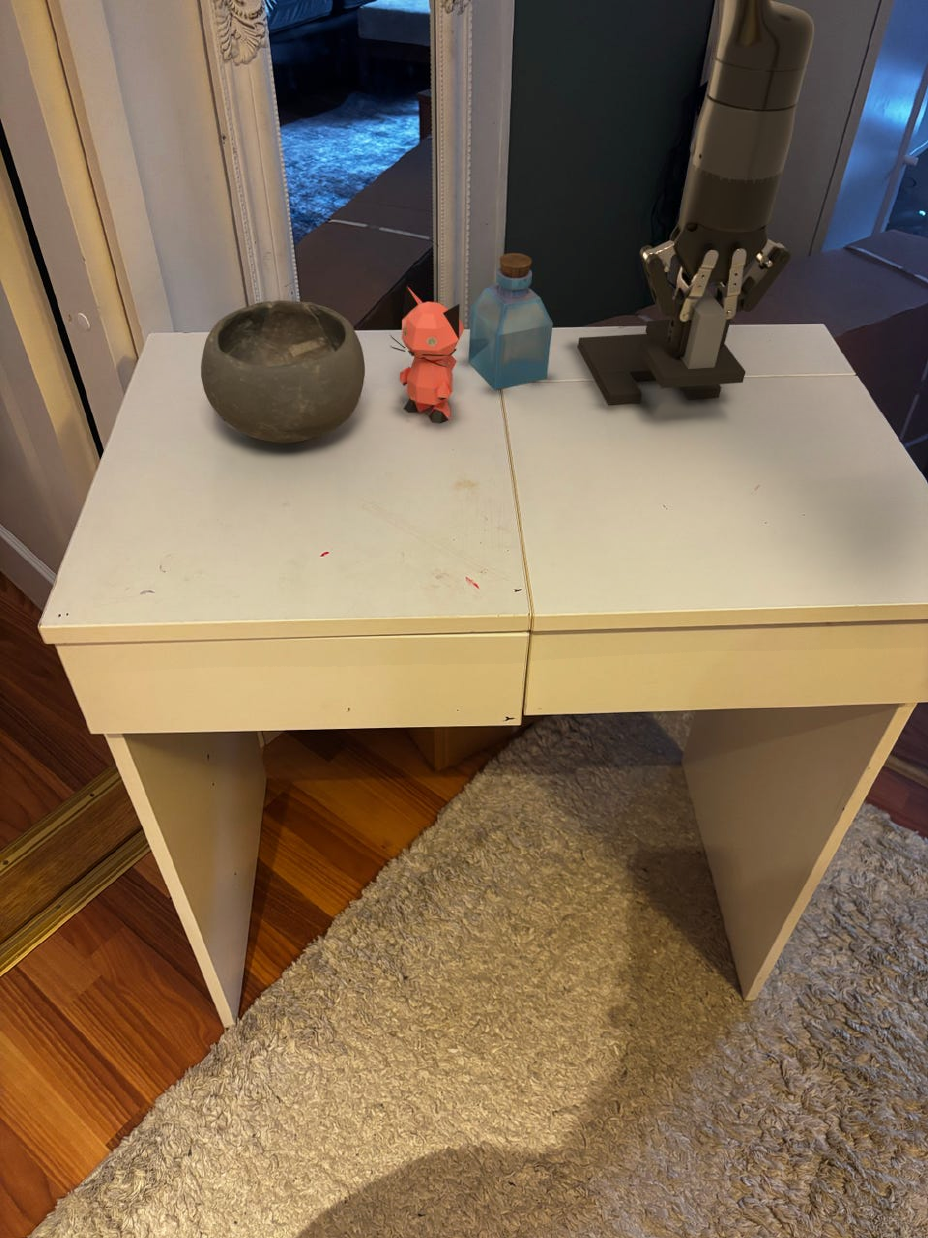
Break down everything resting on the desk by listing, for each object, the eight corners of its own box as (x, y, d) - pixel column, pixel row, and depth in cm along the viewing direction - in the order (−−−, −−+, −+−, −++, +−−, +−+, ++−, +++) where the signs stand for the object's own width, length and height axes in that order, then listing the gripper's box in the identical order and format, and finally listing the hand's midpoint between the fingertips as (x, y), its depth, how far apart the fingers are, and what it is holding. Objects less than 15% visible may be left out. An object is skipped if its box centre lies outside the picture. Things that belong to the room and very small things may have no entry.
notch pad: (679, 340, 105) (681, 331, 104) (719, 397, 97) (721, 387, 96) (577, 347, 103) (578, 337, 103) (608, 405, 95) (610, 395, 94)
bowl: (207, 394, 94) (190, 300, 87) (353, 379, 97) (348, 287, 90) (217, 480, 84) (198, 381, 77) (380, 460, 87) (376, 364, 80)
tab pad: (702, 328, 94) (716, 265, 90) (742, 382, 87) (760, 317, 82) (626, 332, 93) (637, 269, 89) (661, 388, 86) (675, 322, 81)
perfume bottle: (518, 351, 102) (527, 242, 94) (546, 378, 99) (558, 267, 90) (468, 362, 100) (473, 252, 92) (495, 390, 96) (502, 278, 88)
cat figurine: (382, 411, 93) (378, 297, 84) (422, 382, 97) (422, 270, 89) (441, 435, 90) (443, 319, 82) (479, 404, 94) (485, 291, 86)
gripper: (671, 178, 72) (634, 377, 84) (837, 172, 74) (778, 367, 86) (640, 144, 77) (610, 337, 89) (797, 140, 79) (746, 328, 91)
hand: (693, 351), depth 88 cm, fingers closed on tab pad, 2 cm apart
